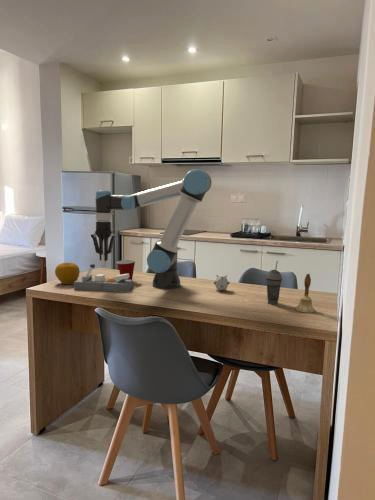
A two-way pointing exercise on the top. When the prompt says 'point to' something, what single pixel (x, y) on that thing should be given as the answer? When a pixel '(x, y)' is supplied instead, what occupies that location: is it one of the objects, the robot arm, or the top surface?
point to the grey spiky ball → (221, 283)
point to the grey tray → (103, 285)
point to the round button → (111, 279)
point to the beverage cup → (273, 286)
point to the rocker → (122, 276)
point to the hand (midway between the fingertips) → (103, 266)
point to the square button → (100, 278)
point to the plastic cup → (126, 267)
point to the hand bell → (306, 298)
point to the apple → (67, 273)
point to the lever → (90, 271)
